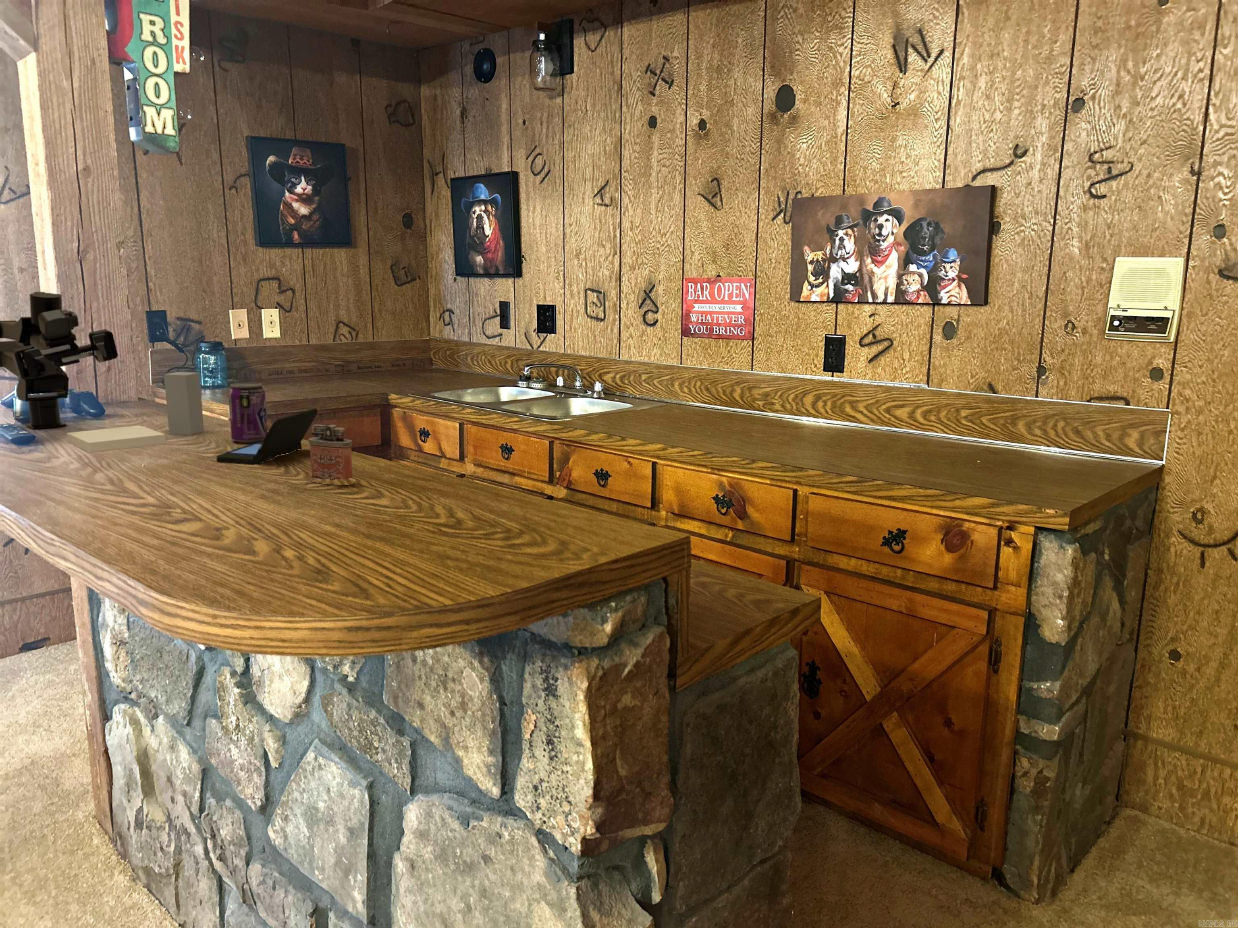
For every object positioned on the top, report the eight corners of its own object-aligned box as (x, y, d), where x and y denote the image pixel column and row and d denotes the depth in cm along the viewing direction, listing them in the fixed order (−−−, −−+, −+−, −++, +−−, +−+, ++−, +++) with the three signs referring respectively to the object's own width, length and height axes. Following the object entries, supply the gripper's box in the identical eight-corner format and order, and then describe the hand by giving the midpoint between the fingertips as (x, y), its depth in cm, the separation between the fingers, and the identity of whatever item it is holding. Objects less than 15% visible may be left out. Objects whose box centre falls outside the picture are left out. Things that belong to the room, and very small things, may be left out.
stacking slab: (68, 444, 182) (66, 432, 182) (141, 436, 192) (140, 425, 192) (90, 455, 173) (88, 442, 172) (166, 446, 183) (164, 434, 182)
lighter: (358, 482, 153) (355, 425, 151) (346, 486, 150) (343, 428, 148) (318, 478, 155) (315, 421, 153) (306, 482, 152) (303, 424, 150)
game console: (261, 448, 182) (258, 404, 180) (322, 452, 179) (320, 407, 177) (212, 463, 167) (209, 415, 165) (278, 468, 164) (275, 419, 162)
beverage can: (255, 445, 183) (251, 387, 181) (224, 443, 184) (220, 385, 182) (275, 439, 190) (271, 383, 187) (245, 437, 191) (241, 381, 189)
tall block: (169, 434, 193) (163, 374, 190) (182, 430, 198) (177, 372, 195) (190, 435, 192) (185, 375, 190) (204, 431, 197) (199, 372, 194)
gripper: (-9, 318, 179) (19, 337, 170) (90, 299, 191) (121, 315, 182) (7, 370, 184) (35, 391, 175) (102, 348, 196) (133, 366, 187)
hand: (82, 364), depth 180 cm, fingers open, 9 cm apart
